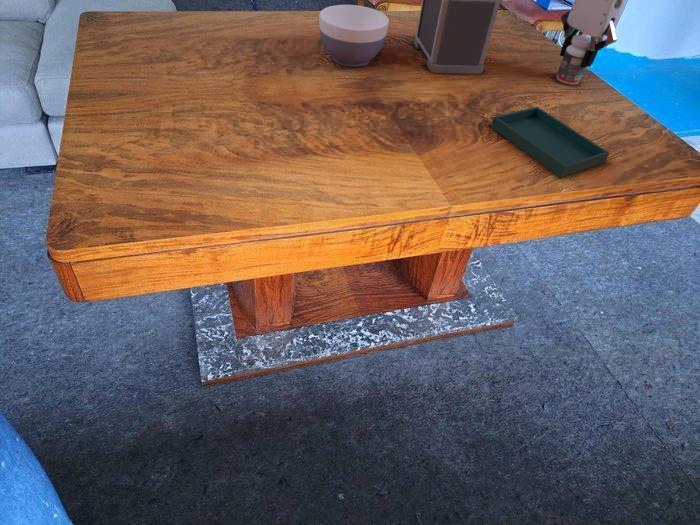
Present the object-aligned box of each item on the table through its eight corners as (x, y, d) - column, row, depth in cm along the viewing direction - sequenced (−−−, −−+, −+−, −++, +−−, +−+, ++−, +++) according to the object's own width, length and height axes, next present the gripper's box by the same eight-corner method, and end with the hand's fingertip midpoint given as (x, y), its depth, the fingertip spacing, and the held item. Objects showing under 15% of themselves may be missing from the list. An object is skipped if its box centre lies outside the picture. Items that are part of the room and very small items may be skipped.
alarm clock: (483, 73, 122) (506, -9, 109) (431, 72, 120) (448, -12, 107) (460, 43, 135) (478, -34, 122) (412, 41, 133) (426, -37, 120)
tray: (604, 163, 97) (609, 152, 96) (560, 177, 92) (565, 166, 91) (533, 116, 109) (536, 106, 107) (490, 127, 104) (493, 116, 102)
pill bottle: (554, 73, 126) (569, 32, 119) (577, 77, 126) (594, 36, 119) (556, 83, 122) (572, 41, 115) (580, 87, 122) (598, 45, 115)
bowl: (394, 57, 125) (400, 16, 118) (364, 79, 114) (369, 36, 108) (338, 40, 129) (340, -1, 123) (304, 60, 119) (305, 17, 112)
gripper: (653, -12, 104) (614, 73, 117) (588, -36, 114) (558, 45, 127) (630, -9, 101) (592, 78, 114) (565, -34, 111) (537, 48, 124)
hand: (575, 60), depth 120 cm, fingers closed on pill bottle, 5 cm apart
